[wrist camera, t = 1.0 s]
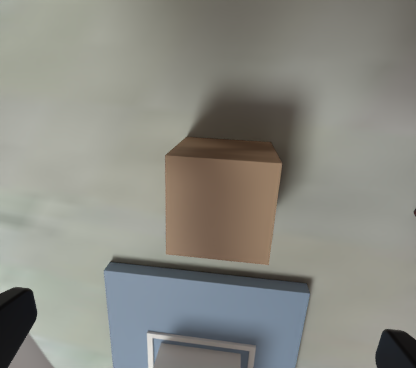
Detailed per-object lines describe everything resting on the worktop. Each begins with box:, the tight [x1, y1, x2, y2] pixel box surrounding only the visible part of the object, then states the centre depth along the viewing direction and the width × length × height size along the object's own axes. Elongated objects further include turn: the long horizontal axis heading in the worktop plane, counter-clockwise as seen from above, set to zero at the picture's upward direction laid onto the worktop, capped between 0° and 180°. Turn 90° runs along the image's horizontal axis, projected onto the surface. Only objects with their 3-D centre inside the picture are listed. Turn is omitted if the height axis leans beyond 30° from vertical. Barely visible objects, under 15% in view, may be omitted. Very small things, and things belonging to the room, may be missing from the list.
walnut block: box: [165, 137, 282, 265], centre depth 15 cm, size 5×5×5 cm
